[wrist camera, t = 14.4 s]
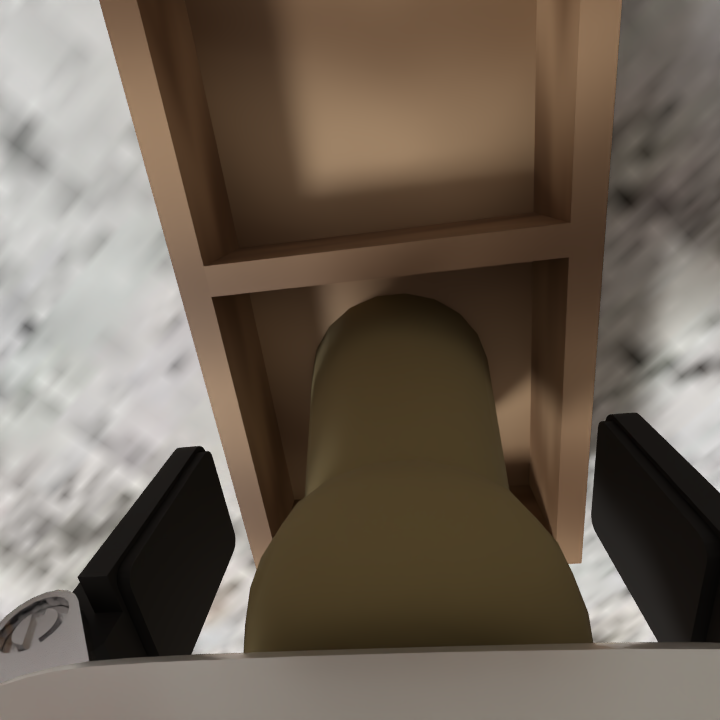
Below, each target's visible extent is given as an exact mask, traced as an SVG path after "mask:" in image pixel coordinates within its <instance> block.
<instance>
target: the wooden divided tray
mask: <svg viewBox="0 0 720 720" xmlns="http://www.w3.org/2000/svg"><path fill="white" fill-rule="evenodd" d="M99 1H100V5H101V9H102V12H103V16H104V19H105V23H106V27H107V30H108V34H109V38H110V41H111V45H112V48H113V52H114V56H115V59H116V63H117V66H118V70H119V74H120V77H121V81H122V85H123V88H124V92H125V95H126V99H127V103H128V106H129V110H130V113H131V117H132V121H133V124H134V128H135V132H136V135H137V139H138V142H139V146H140V150H141V153H142V157H143V160H144V164H145V168H146V171H147V175H148V179H149V182H150V186H151V189H152V193H153V197H154V200H155V204H156V207H157V211H158V215H159V218H160V222H161V226H162V229H163V233H164V236H165V240H166V244H167V247H168V251H169V254H170V258H171V262H172V265H173V269H174V273H175V276H176V280H177V283H178V287H179V291H180V294H181V298H182V301H183V305H184V309H185V312H186V316H187V320H188V323H189V327H190V330H191V334H192V338H193V341H194V345H195V348H196V352H197V356H198V359H199V363H200V366H201V370H202V374H203V377H204V381H205V385H206V388H207V392H208V395H209V399H210V403H211V406H212V410H213V413H214V417H215V421H216V424H217V428H218V432H219V435H220V439H221V442H222V446H223V450H224V453H225V457H226V460H227V464H228V468H229V471H230V475H231V479H232V482H233V486H234V489H235V493H236V497H237V500H238V504H239V507H240V511H241V515H242V518H243V522H244V526H245V529H246V533H247V536H248V540H249V544H250V547H251V551H252V554H253V558H254V562H255V565H256V569H257V567H258V565H259V562H260V559H261V557H262V555H263V554H264V552H265V550H266V549H267V547H268V546H269V544H270V542H271V541H272V539H273V538H274V536H275V534H276V533H277V531H278V530H279V528H280V527H281V525H282V523H283V522H284V521H285V519H286V518H287V516H288V515H289V514H290V512H291V511H292V510H293V508H294V507H295V505H296V504H297V503H298V502H299V501H300V500H302V499H303V498H304V497H305V484H306V468H307V452H308V436H309V419H310V403H311V387H312V373H313V367H314V361H315V355H316V349H317V348H318V346H319V344H320V342H321V340H322V339H323V337H324V335H325V333H326V331H327V330H328V328H329V326H330V325H331V324H333V323H334V322H335V321H336V320H337V319H338V318H339V317H340V316H342V315H343V314H344V313H345V312H346V311H347V310H348V309H349V308H351V307H353V306H356V305H358V304H360V303H362V302H365V301H367V300H369V299H372V298H374V297H376V296H385V295H394V294H404V293H407V294H412V295H417V296H421V297H426V298H431V299H435V300H437V301H439V302H440V303H442V304H444V305H446V306H447V307H449V308H451V309H453V310H454V311H456V312H458V313H460V315H461V316H462V317H463V318H464V319H465V320H466V321H467V322H468V324H469V325H470V326H471V327H472V328H473V329H474V330H475V332H476V333H477V334H478V336H479V339H480V341H481V344H482V346H483V349H484V351H485V354H486V356H487V360H488V366H489V372H490V378H491V383H492V389H493V395H494V401H495V407H496V413H497V419H498V425H499V431H500V437H501V443H502V449H503V455H504V461H505V467H506V473H507V478H508V484H509V490H510V492H511V493H512V494H513V495H514V496H515V497H516V498H517V499H518V500H519V501H520V502H521V503H522V504H523V505H524V506H525V507H526V508H527V509H528V510H529V511H530V512H531V513H532V514H533V515H534V516H535V517H536V518H537V520H538V521H539V522H540V523H541V524H542V525H543V526H544V527H545V529H546V530H547V531H548V532H549V533H550V534H551V535H552V536H553V538H554V539H555V540H556V541H557V542H558V544H559V546H560V548H561V550H562V552H563V554H564V556H565V558H566V560H567V563H568V564H575V563H581V561H582V547H583V534H584V520H585V506H586V492H587V478H588V464H589V450H590V436H591V423H592V409H593V395H594V381H595V367H596V353H597V339H598V326H599V312H600V298H601V284H602V270H603V256H604V242H605V229H606V215H607V201H608V187H609V173H610V159H611V145H612V131H613V118H614V104H615V90H616V76H617V62H618V48H619V34H620V21H621V7H622V0H99Z"/></svg>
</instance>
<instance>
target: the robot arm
mask: <svg viewBox="0 0 720 720" xmlns="http://www.w3.org/2000/svg"><path fill="white" fill-rule="evenodd" d="M591 518H592V524H593V527H594V530H595V532H596V534H597V536H598V537H599V539H600V541H601V543H602V544H603V546H604V548H605V550H606V551H607V553H608V555H609V557H610V558H611V560H612V562H613V564H614V565H615V567H616V569H617V571H618V572H619V574H620V576H621V578H622V579H623V581H624V583H625V585H626V586H627V588H628V590H629V592H630V593H631V595H632V597H633V599H634V600H635V602H636V604H637V606H638V607H639V609H640V611H641V613H642V614H643V616H644V618H645V620H646V621H647V623H648V625H649V627H650V628H651V630H652V632H653V634H654V635H655V637H656V639H657V641H658V642H628V643H569V644H526V645H482V646H444V647H408V648H374V649H340V650H309V651H280V652H251V653H223V654H196V655H191V654H192V652H193V649H194V647H195V644H196V642H197V639H198V637H199V634H200V632H201V630H202V627H203V625H204V622H205V620H206V617H207V615H208V613H209V610H210V608H211V605H212V603H213V600H214V598H215V595H216V593H217V591H218V588H219V586H220V583H221V581H222V578H223V576H224V573H225V571H226V569H227V566H228V564H229V561H230V559H231V556H232V554H233V552H234V548H235V533H234V530H233V526H232V523H231V519H230V516H229V512H228V509H227V505H226V502H225V498H224V495H223V492H222V488H221V485H220V481H219V478H218V474H217V471H216V467H215V464H214V460H213V457H212V454H211V453H210V452H209V451H205V450H204V448H203V447H201V446H195V447H182V448H177V449H176V450H175V451H174V452H173V454H172V455H171V456H170V458H169V459H168V460H167V461H166V463H165V464H164V465H163V467H162V468H161V469H160V471H159V472H158V473H157V474H156V476H155V477H154V478H153V480H152V481H151V482H150V484H149V485H148V486H147V487H146V489H145V490H144V491H143V493H142V494H141V495H140V497H139V498H138V499H137V501H136V502H135V503H134V504H133V506H132V507H131V508H130V510H129V511H128V512H127V514H126V515H125V516H124V517H123V519H122V520H121V521H120V523H119V524H118V525H117V527H116V528H115V529H114V530H113V532H112V533H111V534H110V536H109V537H108V538H107V540H106V541H105V542H104V543H103V545H102V546H101V547H100V549H99V550H98V551H97V553H96V554H95V555H94V557H93V558H92V559H91V560H90V562H89V563H88V564H87V566H86V567H85V568H84V570H83V571H82V572H81V573H80V575H79V576H78V579H79V581H80V583H79V584H78V586H77V587H76V588H75V590H74V591H73V592H70V591H68V590H55V591H50V592H46V593H43V594H41V595H38V596H36V597H34V598H32V599H30V600H28V601H26V602H25V603H23V604H21V605H20V606H18V607H17V608H16V609H14V610H13V611H12V612H10V613H9V614H8V615H7V616H6V617H5V618H4V619H3V620H2V621H1V622H0V720H720V493H719V492H718V491H717V490H716V489H715V488H714V487H713V486H712V485H711V484H710V483H709V482H708V481H707V480H706V479H705V478H704V477H703V476H702V475H701V474H700V473H699V472H698V471H697V470H696V469H695V468H694V467H693V466H692V465H691V464H690V463H689V462H688V461H687V460H685V459H684V458H683V457H682V456H681V455H680V454H679V453H678V452H677V451H676V450H675V449H674V448H673V447H672V446H671V445H670V444H669V443H668V442H667V441H666V440H665V439H664V438H663V437H662V436H661V435H660V434H659V433H658V432H657V431H656V430H655V429H654V428H653V427H652V426H651V425H650V424H649V423H648V422H647V421H645V420H644V419H643V418H642V417H641V416H640V415H639V414H638V413H623V414H610V415H608V416H607V418H606V421H602V422H600V423H599V425H598V435H597V447H596V460H595V473H594V486H593V498H592V511H591Z"/></svg>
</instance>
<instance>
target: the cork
mask: <svg viewBox="0 0 720 720" xmlns="http://www.w3.org/2000/svg"><path fill="white" fill-rule="evenodd" d="M569 643H593V639H592V633H591V626H590V620H589V614H588V611H587V609H586V606H585V603H584V601H583V598H582V596H581V593H580V591H579V588H578V586H577V583H576V580H575V578H574V575H573V573H572V571H571V569H570V567H569V565H568V563H567V560H566V558H565V556H564V554H563V552H562V550H561V548H560V546H559V544H558V542H557V541H556V540H555V539H554V538H553V536H552V535H551V534H550V533H549V532H548V531H547V530H546V529H545V527H544V526H543V525H542V524H541V523H540V522H539V521H538V520H537V518H536V517H535V516H534V515H533V514H532V513H531V512H530V511H529V510H528V509H527V508H526V507H525V506H524V505H523V504H522V503H521V502H520V501H519V500H518V499H517V498H516V497H515V496H514V495H513V494H512V493H511V492H510V490H509V484H508V478H507V473H506V467H505V461H504V455H503V449H502V443H501V437H500V431H499V425H498V419H497V413H496V407H495V401H494V395H493V389H492V383H491V378H490V372H489V366H488V360H487V356H486V354H485V351H484V349H483V346H482V344H481V341H480V339H479V336H478V334H477V333H476V332H475V330H474V329H473V328H472V327H471V326H470V325H469V324H468V322H467V321H466V320H465V319H464V318H463V317H462V316H461V315H460V313H458V312H456V311H454V310H453V309H451V308H449V307H447V306H446V305H444V304H442V303H440V302H439V301H437V300H435V299H431V298H426V297H421V296H417V295H412V294H407V293H404V294H394V295H385V296H376V297H374V298H372V299H369V300H367V301H365V302H362V303H360V304H358V305H356V306H353V307H351V308H349V309H348V310H347V311H346V312H345V313H344V314H343V315H342V316H340V317H339V318H338V319H337V320H336V321H335V322H334V323H333V324H331V325H330V326H329V328H328V330H327V331H326V333H325V335H324V337H323V339H322V340H321V342H320V344H319V346H318V348H317V349H316V355H315V361H314V367H313V373H312V387H311V403H310V419H309V436H308V452H307V468H306V484H305V497H304V498H303V499H302V500H300V501H299V502H298V503H297V504H296V505H295V507H294V508H293V510H292V511H291V512H290V514H289V515H288V516H287V518H286V519H285V521H284V522H283V523H282V525H281V527H280V528H279V530H278V531H277V533H276V534H275V536H274V538H273V539H272V541H271V542H270V544H269V546H268V547H267V549H266V550H265V552H264V554H263V555H262V557H261V559H260V562H259V565H258V567H257V570H256V573H255V576H254V579H253V582H252V584H251V587H250V593H249V601H248V608H247V615H246V623H245V637H244V653H251V652H280V651H309V650H340V649H374V648H408V647H444V646H482V645H526V644H569Z"/></svg>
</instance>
